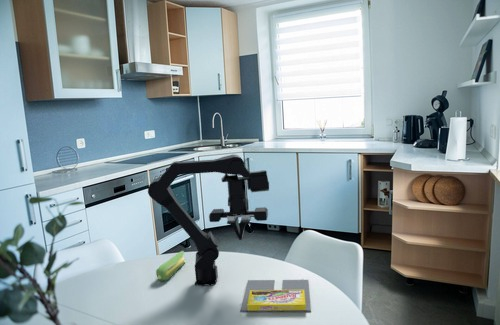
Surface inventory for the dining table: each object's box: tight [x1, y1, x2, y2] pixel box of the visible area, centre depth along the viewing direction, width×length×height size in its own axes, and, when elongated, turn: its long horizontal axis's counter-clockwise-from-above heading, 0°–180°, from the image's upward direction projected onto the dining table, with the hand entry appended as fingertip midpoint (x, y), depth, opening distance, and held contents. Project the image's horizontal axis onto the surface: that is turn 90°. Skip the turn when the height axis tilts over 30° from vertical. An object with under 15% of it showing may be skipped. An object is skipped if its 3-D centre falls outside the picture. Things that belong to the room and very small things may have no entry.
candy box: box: [247, 289, 306, 312], centre depth 105 cm, size 16×2×8 cm
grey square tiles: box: [239, 279, 312, 313], centre depth 110 cm, size 20×18×1 cm
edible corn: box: [155, 250, 186, 282], centre depth 132 cm, size 5×20×5 cm
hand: (240, 239), depth 122 cm, fingers closed
